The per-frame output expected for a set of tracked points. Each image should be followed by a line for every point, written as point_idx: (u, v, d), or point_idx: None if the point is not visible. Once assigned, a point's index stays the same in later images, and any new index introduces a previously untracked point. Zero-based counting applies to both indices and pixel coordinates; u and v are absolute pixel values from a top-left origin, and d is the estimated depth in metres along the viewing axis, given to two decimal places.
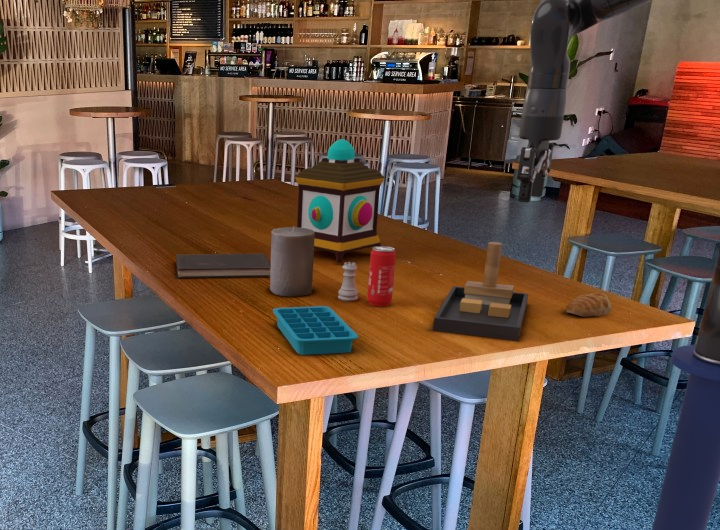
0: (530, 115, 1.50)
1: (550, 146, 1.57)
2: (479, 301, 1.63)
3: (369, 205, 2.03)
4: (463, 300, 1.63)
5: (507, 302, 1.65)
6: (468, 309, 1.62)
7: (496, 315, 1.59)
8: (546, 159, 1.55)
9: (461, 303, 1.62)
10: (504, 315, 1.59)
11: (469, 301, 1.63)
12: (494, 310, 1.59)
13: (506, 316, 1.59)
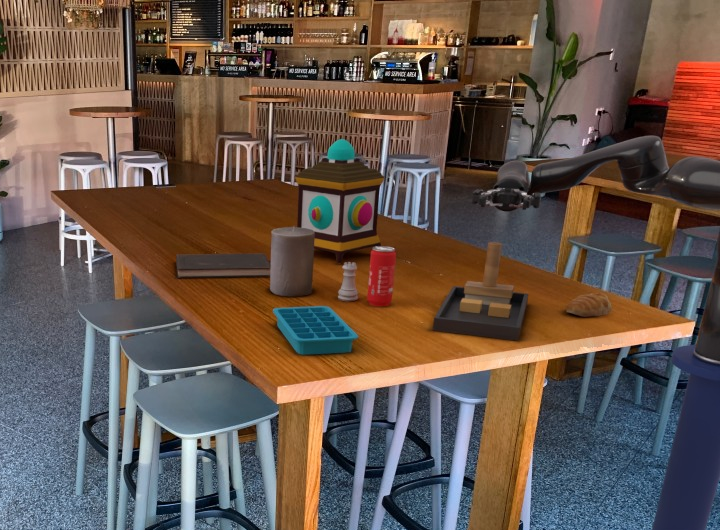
0: (526, 187, 1.83)
1: None
2: (479, 301, 1.63)
3: (369, 205, 2.03)
4: (463, 300, 1.63)
5: (507, 302, 1.65)
6: (468, 309, 1.62)
7: (496, 315, 1.59)
8: (498, 204, 1.78)
9: (461, 303, 1.62)
10: (504, 315, 1.59)
11: (469, 301, 1.63)
12: (494, 310, 1.59)
13: (506, 316, 1.59)
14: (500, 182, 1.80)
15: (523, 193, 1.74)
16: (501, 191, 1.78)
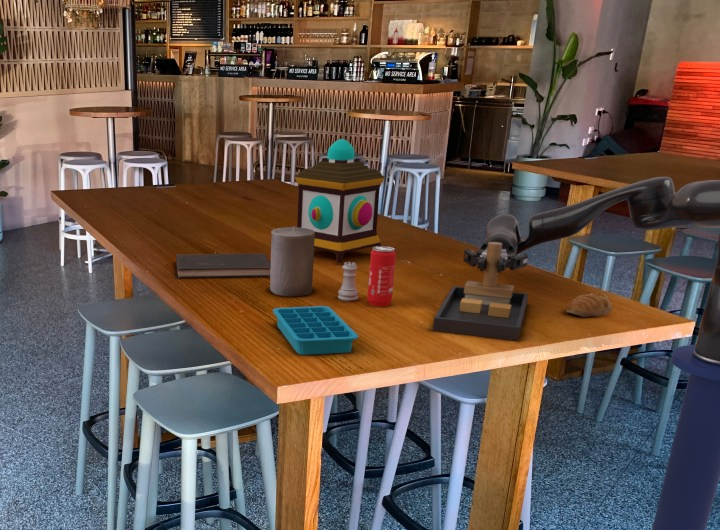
0: (515, 246, 1.76)
1: None
2: (479, 301, 1.63)
3: (369, 205, 2.03)
4: (463, 300, 1.63)
5: (507, 302, 1.65)
6: (468, 309, 1.62)
7: (496, 315, 1.59)
8: None
9: (461, 303, 1.62)
10: (504, 315, 1.59)
11: (469, 301, 1.63)
12: (494, 310, 1.59)
13: (506, 316, 1.59)
14: (488, 241, 1.74)
15: (503, 254, 1.67)
16: None
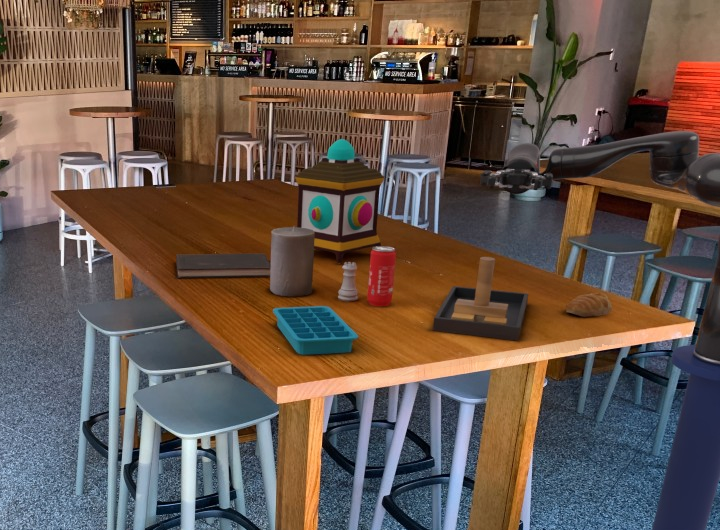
0: (536, 169, 1.74)
1: None
2: (471, 315, 1.53)
3: (369, 205, 2.03)
4: (454, 314, 1.54)
5: None
6: None
7: None
8: (507, 186, 1.70)
9: (452, 318, 1.53)
10: None
11: (460, 315, 1.53)
12: None
13: None
14: (509, 163, 1.72)
15: (534, 173, 1.66)
16: (511, 172, 1.70)
